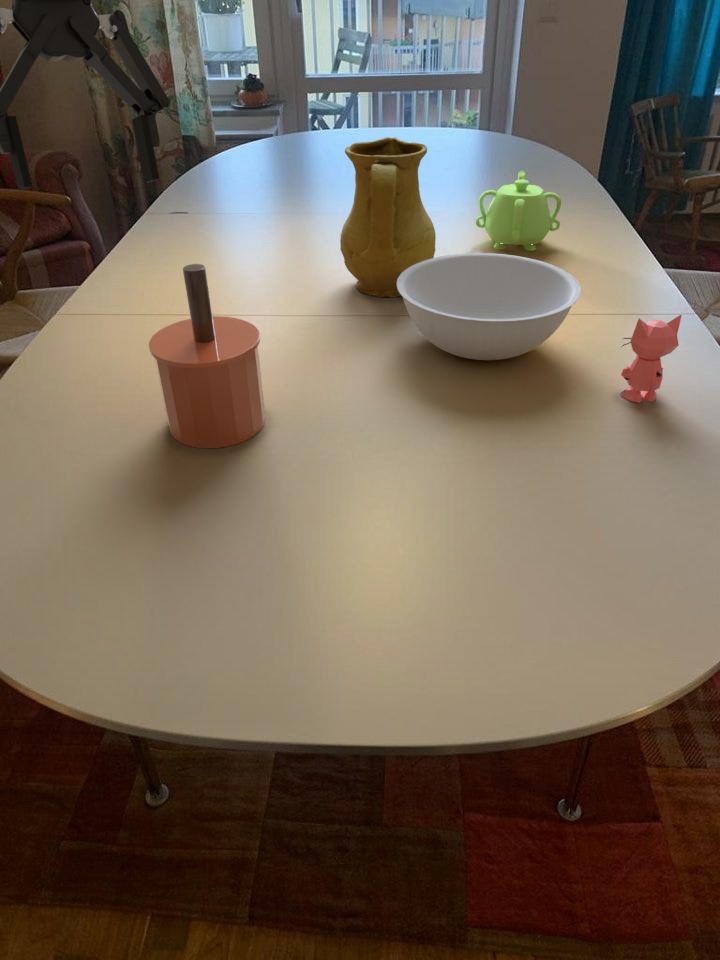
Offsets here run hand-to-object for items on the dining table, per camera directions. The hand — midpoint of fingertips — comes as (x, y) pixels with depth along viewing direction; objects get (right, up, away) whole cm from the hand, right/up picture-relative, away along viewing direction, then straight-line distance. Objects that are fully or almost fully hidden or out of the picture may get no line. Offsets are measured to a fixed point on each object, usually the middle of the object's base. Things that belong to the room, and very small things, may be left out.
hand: (91, 185), depth 79 cm
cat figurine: (+68, -20, +23) cm, 74 cm away
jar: (+10, -24, +20) cm, 32 cm away
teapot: (+62, +19, +78) cm, 101 cm away
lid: (+10, -15, +13) cm, 22 cm away
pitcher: (+34, +4, +58) cm, 67 cm away
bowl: (+48, -10, +37) cm, 62 cm away
